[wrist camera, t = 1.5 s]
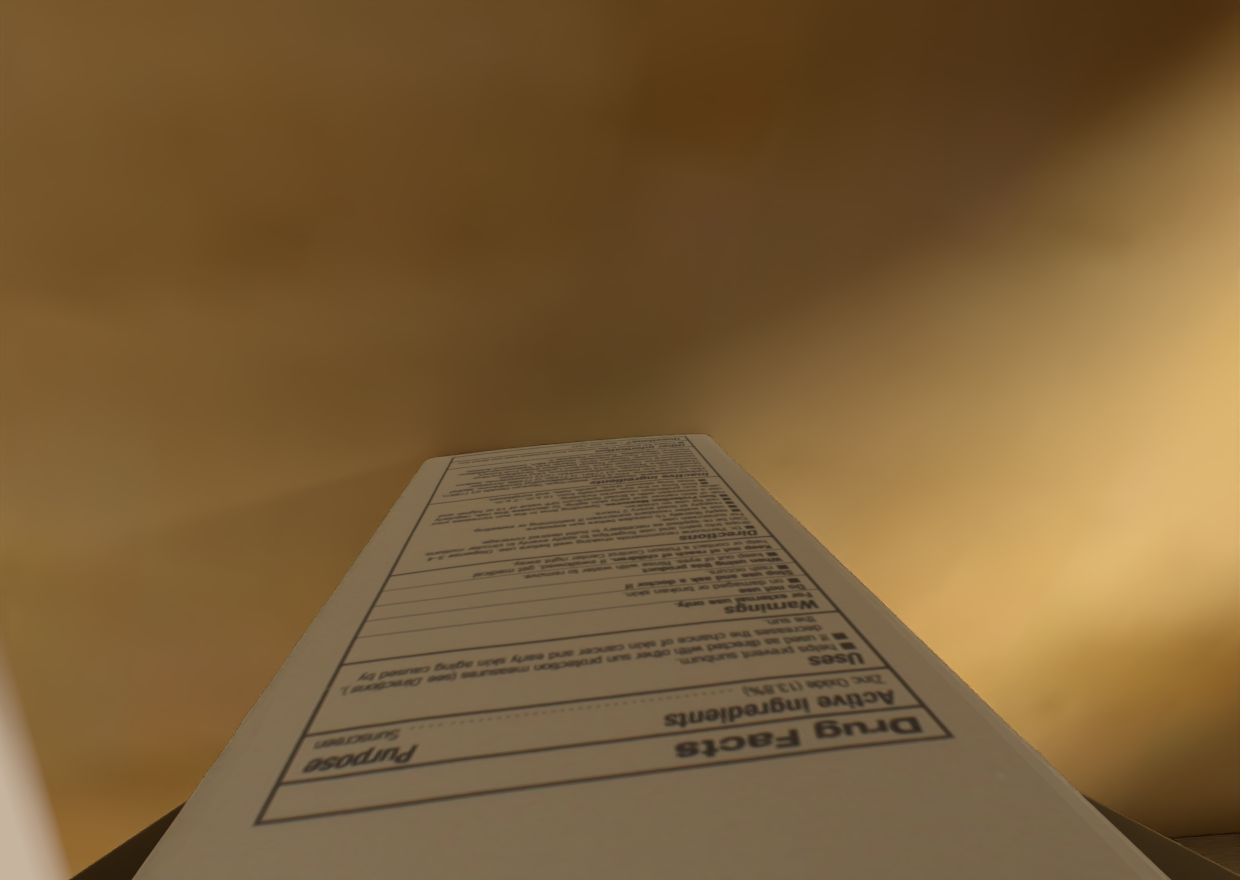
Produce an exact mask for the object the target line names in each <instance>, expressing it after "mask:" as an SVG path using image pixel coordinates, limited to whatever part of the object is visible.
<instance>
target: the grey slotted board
mask: <svg viewBox="0 0 1240 880" xmlns="http://www.w3.org/2000/svg"><path fill="white" fill-rule="evenodd" d="M1171 840H1173V841H1175V842H1177V843H1179V844H1181V845H1182V846H1184V847H1186V848H1188V849H1190V850H1192V851H1194V852H1196V853H1198V854H1200V855H1202V856H1204V857H1206V858H1207V859H1209V860H1211V861H1213V862H1215V863H1217V864H1219V865H1221V866H1223V867H1225V868H1227V869H1229V870H1231V871H1232V872H1234V873H1236V874H1238V875H1240V833H1238V834H1225V835H1212V836H1200V837H1187V838H1174V839H1171Z"/></svg>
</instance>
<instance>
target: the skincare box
mask: <svg viewBox="0 0 1240 880" xmlns="http://www.w3.org/2000/svg"><path fill="white" fill-rule="evenodd" d="M132 880H1171V879H1170V878H1169V877H1167V876H1166V875H1165V874H1164V873H1163V872H1162V871H1161V870H1160V869H1159V868H1158V867H1157V866H1156V865H1155V864H1154V863H1153V862H1152V861H1151V860H1150V859H1149V858H1147V857H1146V856H1145V855H1144V854H1143V853H1142V852H1141V851H1140V850H1139V849H1138V848H1137V847H1136V846H1135V845H1134V844H1133V843H1132V842H1131V841H1130V840H1129V839H1127V838H1126V837H1125V836H1124V835H1123V834H1122V833H1121V832H1120V831H1119V830H1118V829H1117V828H1116V827H1115V826H1114V825H1113V824H1112V823H1111V822H1110V821H1109V820H1107V819H1106V818H1105V817H1104V816H1103V815H1102V814H1101V813H1100V812H1099V811H1098V810H1097V809H1096V808H1095V807H1094V806H1093V805H1092V804H1091V803H1090V802H1089V801H1087V800H1086V799H1085V798H1084V797H1083V796H1082V795H1081V794H1080V793H1079V792H1078V791H1077V790H1076V789H1075V788H1074V787H1073V786H1072V785H1071V784H1070V783H1069V782H1068V781H1067V780H1066V779H1065V778H1064V777H1063V776H1062V775H1061V774H1060V773H1059V772H1058V771H1057V770H1056V769H1055V768H1054V767H1053V766H1052V765H1051V764H1050V763H1049V762H1048V761H1047V760H1046V759H1045V758H1044V757H1043V756H1042V755H1041V754H1040V753H1039V752H1038V751H1037V750H1035V749H1034V748H1033V747H1032V746H1031V745H1030V744H1028V743H1027V742H1026V741H1025V740H1024V739H1023V738H1022V737H1020V736H1019V735H1018V734H1017V733H1016V732H1015V731H1014V730H1013V729H1012V728H1011V727H1010V726H1009V725H1008V724H1007V723H1006V722H1005V721H1004V720H1003V719H1002V718H1001V717H1000V716H999V715H998V714H997V713H996V712H995V711H994V710H993V709H992V708H991V707H990V706H989V705H988V704H987V703H986V702H985V701H983V700H982V699H981V698H980V697H979V696H978V695H977V694H976V693H975V692H974V691H973V690H972V689H971V688H970V687H969V686H968V685H967V684H966V683H965V682H964V681H963V680H962V679H961V678H960V677H959V676H958V675H957V674H956V673H955V672H954V671H953V670H952V669H951V668H950V667H949V666H948V665H947V664H945V663H944V662H943V661H942V660H941V659H940V658H939V657H938V656H937V655H936V654H935V653H934V652H933V651H932V650H931V649H930V648H929V647H928V646H927V645H926V644H925V643H924V642H923V641H922V640H921V639H920V638H919V637H917V636H916V635H915V634H914V633H913V632H912V631H911V630H910V629H909V628H908V627H907V626H906V625H905V624H904V623H903V622H902V621H901V620H900V619H899V618H898V617H897V616H896V615H895V614H894V613H893V612H892V611H891V610H890V609H889V608H888V607H887V606H886V605H885V604H884V603H882V602H881V601H880V600H879V599H878V598H877V597H876V596H875V595H874V594H873V593H872V592H871V591H870V590H869V589H868V588H867V587H866V586H865V585H864V584H863V583H862V582H861V581H860V580H858V579H857V578H856V577H855V576H854V575H853V574H852V573H851V572H850V571H849V570H848V569H847V568H846V567H845V566H844V565H843V564H842V563H841V562H840V561H839V560H838V559H837V558H836V557H835V556H834V555H833V554H831V553H830V552H829V551H828V550H827V549H826V548H825V547H824V546H823V545H822V544H821V543H820V542H819V541H818V540H817V539H816V538H815V537H814V536H813V535H812V534H811V533H810V532H809V531H808V530H807V529H806V528H805V527H804V526H803V525H801V524H800V523H799V522H798V521H797V520H796V519H795V518H794V517H793V516H792V515H791V514H790V513H789V512H788V511H787V510H786V509H785V508H784V507H783V506H782V505H781V504H780V503H779V502H778V501H776V500H775V499H774V498H773V497H772V496H771V495H770V494H769V493H768V492H767V491H766V490H765V489H764V488H763V487H762V486H761V485H760V484H759V483H758V482H757V481H756V480H755V479H754V478H753V477H752V476H751V475H750V474H749V473H747V472H746V471H745V470H744V469H743V468H742V467H741V466H740V465H739V464H738V463H737V462H736V461H735V460H734V459H733V458H732V457H731V456H730V455H729V454H728V453H727V452H726V451H725V450H724V449H723V448H722V447H721V446H720V445H719V444H718V443H717V442H716V441H714V440H713V439H712V438H711V437H710V436H708V435H706V434H685V435H665V436H650V437H634V438H620V439H606V440H594V441H583V442H573V443H562V444H551V445H540V446H530V447H520V448H511V449H502V450H493V451H484V452H476V453H468V454H460V455H453V456H444V457H435V458H431V459H428V460H426V461H425V462H424V463H423V464H422V466H421V467H420V469H419V470H418V471H417V473H416V474H415V475H414V477H413V478H412V480H411V481H410V483H409V484H408V485H407V487H406V488H405V490H404V492H403V493H402V494H401V496H400V497H399V499H398V500H397V501H396V503H395V504H394V506H393V507H392V509H391V510H390V512H389V513H388V515H387V516H386V517H385V519H384V520H383V522H382V523H381V524H380V526H379V527H378V529H377V530H376V531H375V533H374V535H373V536H372V538H371V539H370V541H369V542H368V543H367V545H366V546H365V547H364V549H363V550H362V552H361V553H360V554H359V556H358V557H357V559H356V560H355V562H354V563H353V564H352V566H351V567H350V569H349V570H348V572H347V573H346V575H345V576H344V578H343V579H342V581H341V582H340V584H339V585H338V586H337V588H336V589H335V591H334V592H333V594H332V595H331V597H330V598H329V599H328V601H327V602H326V604H325V605H324V606H323V608H322V609H321V611H320V612H319V613H318V615H317V616H316V617H315V619H314V620H313V622H312V623H311V624H310V626H309V627H308V629H307V630H306V632H305V633H304V635H303V636H302V638H301V639H300V640H299V641H298V643H297V644H296V645H295V647H294V648H293V650H292V652H291V653H290V655H289V656H288V657H287V659H286V660H285V662H284V663H283V665H282V666H281V668H280V669H279V670H278V672H277V673H276V675H275V676H274V678H273V679H272V680H271V682H270V683H269V685H268V686H267V688H266V689H265V690H264V692H263V693H262V695H261V696H260V697H259V699H258V700H257V702H256V703H255V704H254V706H253V707H252V708H251V710H250V711H249V712H248V713H247V715H246V716H245V718H244V719H243V721H242V723H241V725H240V726H239V728H238V730H237V731H236V733H235V734H234V736H233V737H232V738H231V740H230V741H229V743H228V744H227V745H226V747H225V748H224V750H223V751H222V752H221V754H220V755H219V757H218V758H217V759H216V761H215V762H214V764H213V765H212V766H211V768H210V769H209V771H208V772H207V773H206V775H205V776H204V778H203V779H202V780H201V782H200V783H199V785H198V786H197V788H196V789H195V791H194V792H193V793H192V795H191V796H190V798H189V799H188V801H187V802H186V804H185V805H184V807H183V808H182V810H181V811H180V813H179V814H178V815H177V817H176V818H175V820H174V821H173V823H172V824H171V825H170V827H169V828H168V830H167V831H166V832H165V834H164V835H163V837H162V838H161V839H160V841H159V842H158V844H157V845H156V846H155V848H154V849H153V851H152V852H151V853H150V855H149V856H148V857H147V859H146V860H145V862H144V863H143V864H142V866H141V867H140V869H139V870H138V872H137V873H136V875H135V876H134V877H133V879H132Z"/></svg>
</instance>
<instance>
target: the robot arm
mask: <svg viewBox="0 0 1240 880" xmlns="http://www.w3.org/2000/svg"><path fill="white" fill-rule="evenodd" d="M1078 792H1079V791H1078ZM1079 793H1080V794H1081V795H1082V796H1083V797H1084V798H1085V799H1086V800H1087V801H1089V802H1090V803H1091V804H1092V805H1093V806H1094V807H1095V808H1096V809H1097V810H1098V811H1099V812H1100V813H1101V814H1102V815H1103V816H1104V817H1105V818H1106V819H1107V820H1109V821H1110V822H1111V823H1112V824H1113V825H1114V826H1115V827H1116V828H1117V829H1118V830H1119V831H1120V832H1121V833H1122V834H1123V835H1124V836H1125V837H1126V838H1127V839H1129V840H1130V841H1131V842H1132V843H1133V844H1134V845H1135V846H1136V847H1137V848H1138V849H1139V850H1140V851H1141V852H1142V853H1143V854H1144V855H1145V856H1146V857H1147V858H1149V859H1150V860H1151V861H1152V862H1153V863H1154V864H1155V865H1156V866H1157V867H1158V868H1159V869H1160V870H1161V871H1162V872H1163V873H1164V874H1165V875H1166V876H1167V877H1169V878H1170V879H1171V880H1240V875H1238V874H1236V873H1234V872H1232V871H1231V870H1229V869H1227V868H1225V867H1223V866H1221V865H1219V864H1217V863H1215V862H1213V861H1211V860H1209V859H1207V858H1206V857H1204V856H1202V855H1200V854H1198V853H1196V852H1194V851H1192V850H1190V849H1188V848H1186V847H1184V846H1182V845H1181V844H1179V843H1177V842H1175V841H1173V840H1171V839H1169V838H1167V837H1165V836H1163V835H1161V834H1159V833H1157V832H1156V831H1154V830H1152V829H1150V828H1148V827H1146V826H1144V825H1142V824H1140V823H1138V822H1136V821H1134V820H1132V819H1131V818H1129V817H1127V816H1125V815H1123V814H1121V813H1119V812H1117V811H1115V810H1113V809H1111V808H1109V807H1107V806H1106V805H1104V804H1102V803H1100V802H1098V801H1096V800H1094V799H1092V798H1090V797H1088V796H1086V795H1084V794H1082V793H1081V792H1079ZM187 801H188V800H187ZM187 801H186V802H187ZM186 802H184V803H183V804H181V805H180V806H178V807H177V808H175V809H174V810H172V811H171V812H169V813H168V814H166V815H165V816H163V817H162V818H161V819H159V820H158V821H156V822H155V823H153V824H152V825H150V826H149V827H147V828H146V829H144V830H143V831H141V832H140V833H138V834H137V835H135V836H134V837H132V838H131V839H129V840H128V841H126V842H125V843H123V844H122V845H120V846H119V847H117V848H116V849H114V850H113V851H111V852H110V853H108V854H107V855H105V856H104V857H102V858H101V859H99V860H98V861H96V862H95V863H93V864H92V865H90V866H89V867H87V868H86V869H85V870H83V871H82V872H80V873H79V874H77V875H76V876H74V877H73V878H71V879H70V880H132V879H133V877H134V876H135V875H136V873H137V872H138V870H139V869H140V867H141V866H142V864H143V863H144V862H145V860H146V859H147V857H148V856H149V855H150V853H151V852H152V851H153V849H154V848H155V846H156V845H157V844H158V842H159V841H160V839H161V838H162V837H163V835H164V834H165V832H166V831H167V830H168V828H169V827H170V825H171V824H172V823H173V821H174V820H175V818H176V817H177V815H178V814H179V813H180V811H181V810H182V808H183V807H184V805H185V804H186Z"/></svg>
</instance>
